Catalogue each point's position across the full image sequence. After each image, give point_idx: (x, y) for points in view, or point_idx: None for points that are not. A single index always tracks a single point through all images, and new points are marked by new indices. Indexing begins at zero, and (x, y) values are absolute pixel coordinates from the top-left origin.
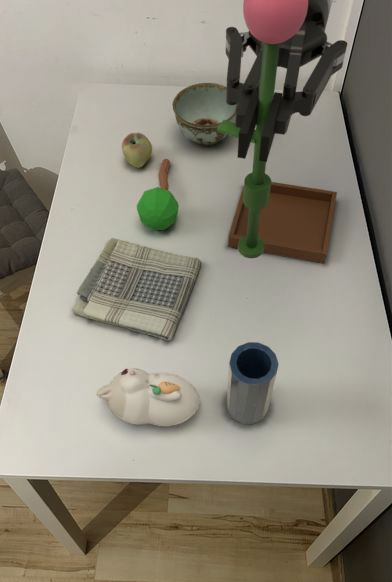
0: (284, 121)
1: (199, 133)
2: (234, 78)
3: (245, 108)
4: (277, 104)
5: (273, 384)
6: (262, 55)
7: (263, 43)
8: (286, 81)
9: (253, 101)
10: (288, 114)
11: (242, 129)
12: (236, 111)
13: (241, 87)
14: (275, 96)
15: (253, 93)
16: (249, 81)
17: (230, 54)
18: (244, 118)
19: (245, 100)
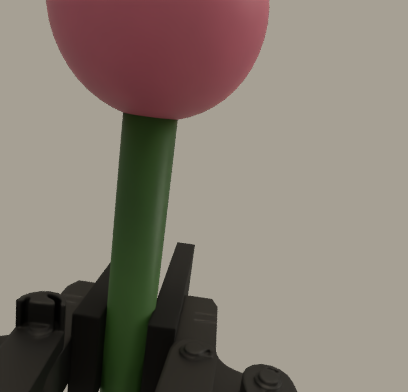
0: (82, 281)
1: None
2: (261, 372)
3: (190, 311)
4: (99, 285)
5: None
6: (171, 172)
7: (175, 134)
8: (32, 371)
9: (171, 295)
10: (64, 296)
11: (188, 248)
12: (214, 304)
13: (223, 382)
14: (100, 306)
15: (174, 316)
16: (196, 373)
17: None
18: (188, 262)
19: (196, 333)
